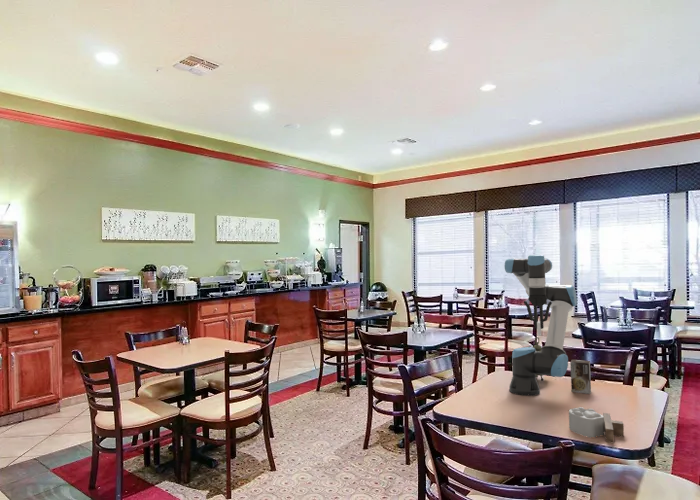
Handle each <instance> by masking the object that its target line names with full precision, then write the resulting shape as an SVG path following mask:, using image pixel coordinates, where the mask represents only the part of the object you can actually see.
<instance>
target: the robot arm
mask: <svg viewBox="0 0 700 500" xmlns="http://www.w3.org/2000/svg"><path fill="white" fill-rule="evenodd" d="M552 268H553V262H552V261H551V260H550V259H549V258H546V257H545V255H543V254H530V255H528V257H527V258H507V259H506V260H505V261H504V271H505V273H507V274H513V275H514V276H515V277H516V279H517V280H518V281H519V283H520V284H521V285H522V286H523V288H524V289H525V292H526V294H527V296H528V298H527V299H526V300H523V304H524V305H525V308H526V310H527V314H528V317H529V319H530V321H532V322H533V323H534V329H536V331H537V332H536V333H537V337H542V330H543V329H544V328H545V327H544V326H545V325H544V323H545V322H547V321H548V318H549V321H548V322H549V323H548V325H547V326H548V327H547V333H546V339H545V344H544V345H543V346H541V352H539V351H536V350H535V348H533V346H530V347H525V346H524V347H518V348H514V349H513V350H512V355H511V365H512V366H511V367H512V377H511V380H510V383H509V389H508V390H509V392H510V393H512V394H514V395H519V396H526V397H527V396H528V397H531V396H533V397H534V396H538V395H540V394H541V388H540V386H539V382H538V381H537V378H536V374H541V375H543V376H548V377H553V378H555V377H556V378H557V377H558V378H562V377H564V376H565V374H566V373H567V371H568V367H569V357H568V355H567V354H566V351H565V350H564V344H565V338H566V337H565V336H566V330H567V326H568V325H567V324H568V318H569V312H571V311H572V310H573V307H576V306H577V304H578V299H577V291H576V289H575V287H574V285H570V284H546V273H550V272H551V270H552ZM530 304H531V305H532V307H533V311H532V308H531V306H530ZM544 306H546V310H545V313H544V309H543V307H544ZM538 307H539V308H538ZM538 309H539V321H538ZM550 309H551V310H550ZM549 313H550V316H549Z"/></svg>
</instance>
